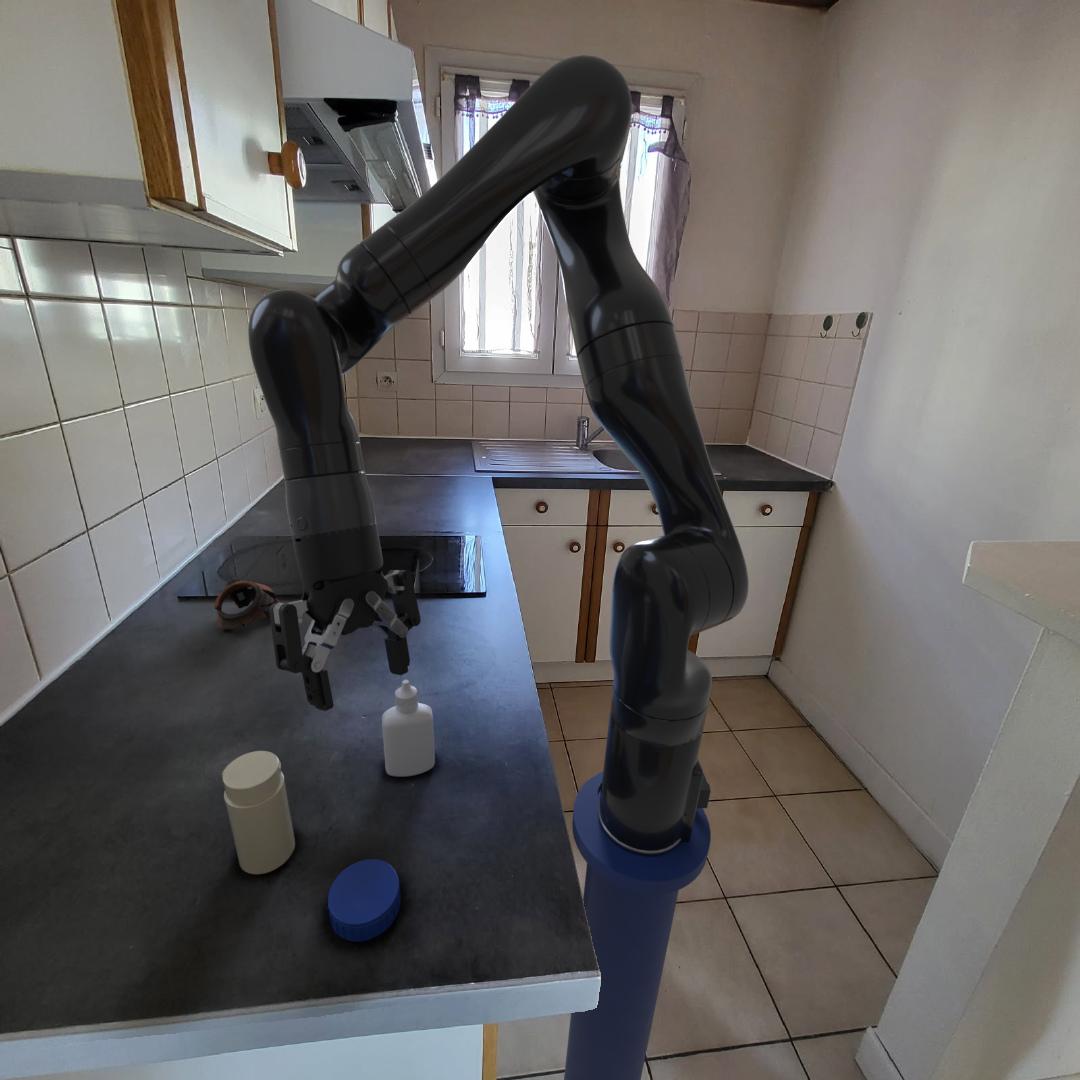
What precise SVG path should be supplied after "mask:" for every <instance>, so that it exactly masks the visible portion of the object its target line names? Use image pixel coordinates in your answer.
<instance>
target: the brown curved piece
mask: <svg viewBox="0 0 1080 1080" xmlns="http://www.w3.org/2000/svg"><path fill="white" fill-rule="evenodd" d="M226 598H229V599H230V600H231V601H233V602H234V605H236V606H237V607H238V608H237V609H243V608H245V609H244V610H242V611H239V612H237V613H226V612H224V611H222V609H223V603H224V601H225V600H226ZM250 603H251V604H250ZM274 603H281V601H280V600H279V598H277V595H276V593H275V591H274V590H273V589H272V588H270V587H269V586H268V585H265V584H262V583H258V582H255V581H252V580H247V579H246V580H241V579H240V578H238V577H232V578H231V579H228V582H227V584H226V587H225V588H224V589H222V591H220V593H219V594H218V595H217V596H216V598H215V601H214V609H215V610H216V615H217V623H218V625H219V627H220V628H221V630H222V631H223V632H226V631H227V630H235V629H243V628H244V627H246V626H248V625H251V624H252V623H254V622H255V621H257V620H259V619H266V618H267V616H266V614H265V612H264V610H263V608H266V607H270V606H271V605H272V604H274Z"/></svg>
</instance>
